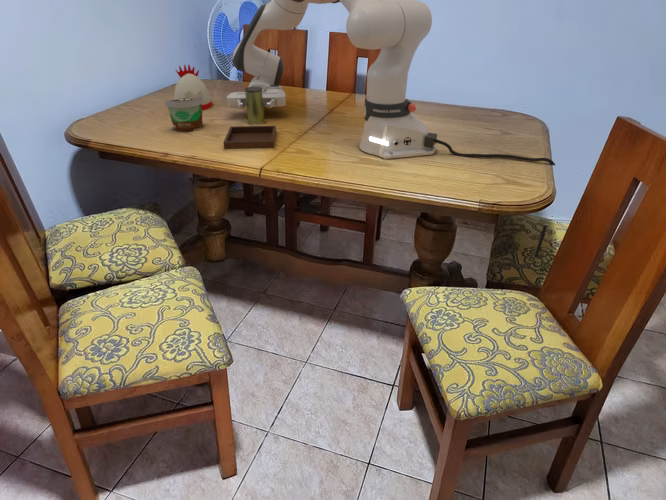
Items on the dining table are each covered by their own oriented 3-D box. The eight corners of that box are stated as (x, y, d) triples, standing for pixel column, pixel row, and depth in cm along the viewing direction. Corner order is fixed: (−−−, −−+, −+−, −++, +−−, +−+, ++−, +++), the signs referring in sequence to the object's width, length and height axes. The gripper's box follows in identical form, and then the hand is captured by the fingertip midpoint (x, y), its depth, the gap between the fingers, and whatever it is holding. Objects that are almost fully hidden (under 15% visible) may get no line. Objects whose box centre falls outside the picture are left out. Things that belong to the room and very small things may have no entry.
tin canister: (265, 120, 161) (262, 86, 155) (264, 125, 157) (261, 90, 150) (249, 120, 161) (245, 86, 155) (247, 125, 156) (243, 91, 150)
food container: (168, 134, 149) (162, 103, 144) (169, 128, 154) (163, 97, 149) (208, 130, 152) (203, 100, 146) (207, 125, 157) (202, 95, 151)
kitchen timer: (172, 103, 179) (164, 62, 171) (207, 99, 184) (201, 59, 176) (178, 113, 169) (170, 69, 160) (215, 108, 173) (209, 66, 165)
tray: (276, 133, 150) (275, 125, 148) (273, 149, 138) (273, 141, 136) (231, 134, 149) (230, 126, 148) (224, 150, 137) (223, 142, 136)
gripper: (228, 86, 164) (222, 96, 153) (286, 85, 165) (284, 95, 154) (230, 104, 168) (225, 115, 156) (287, 103, 169) (285, 114, 157)
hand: (255, 106), depth 155 cm, fingers open, 8 cm apart
